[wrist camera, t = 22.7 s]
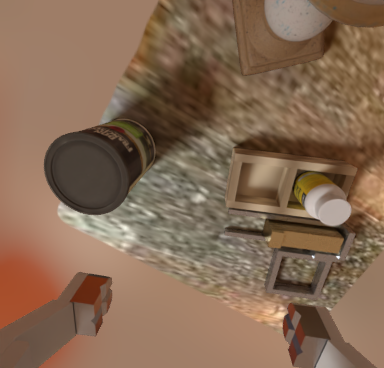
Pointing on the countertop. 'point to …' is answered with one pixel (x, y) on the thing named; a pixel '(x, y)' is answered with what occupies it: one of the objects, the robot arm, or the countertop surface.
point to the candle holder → (293, 29)
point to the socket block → (295, 253)
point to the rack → (277, 180)
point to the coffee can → (99, 165)
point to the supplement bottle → (321, 197)
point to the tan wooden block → (302, 236)
